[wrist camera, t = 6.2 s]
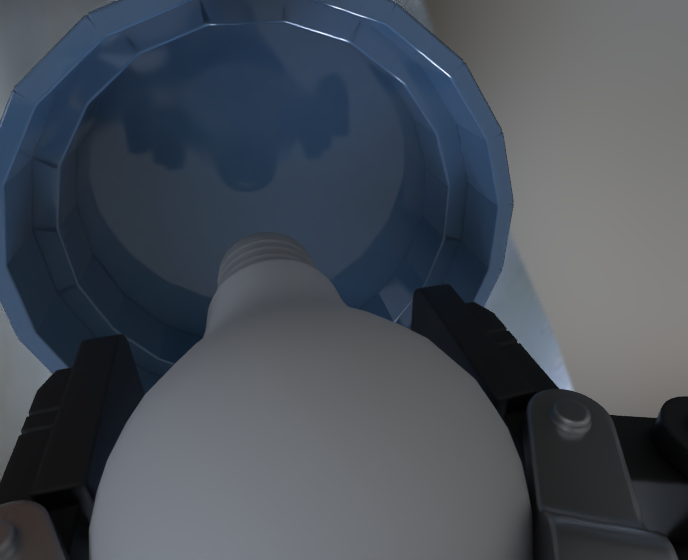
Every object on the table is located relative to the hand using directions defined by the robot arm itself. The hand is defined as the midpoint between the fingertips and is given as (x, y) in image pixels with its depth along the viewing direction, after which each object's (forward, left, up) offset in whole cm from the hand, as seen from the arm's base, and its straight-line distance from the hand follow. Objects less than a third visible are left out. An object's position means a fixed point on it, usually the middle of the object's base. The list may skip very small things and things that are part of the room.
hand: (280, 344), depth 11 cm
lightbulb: (0, 0, -4) cm, 4 cm away
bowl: (0, 0, -8) cm, 8 cm away
